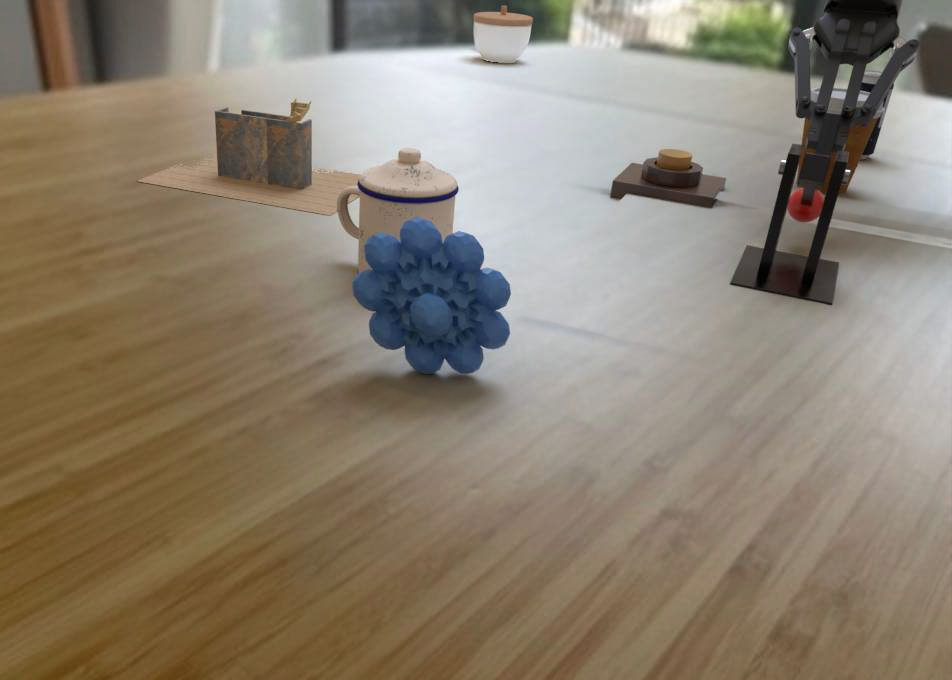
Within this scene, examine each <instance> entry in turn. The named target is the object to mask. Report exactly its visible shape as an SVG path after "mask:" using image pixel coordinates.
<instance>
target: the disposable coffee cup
mask: <svg viewBox="0 0 952 680" xmlns="http://www.w3.org/2000/svg"><path fill="white" fill-rule="evenodd" d="M820 88H821V86H820V87H813V88H811V100H812V101H814V102H817V99H818V95H819V91H820ZM846 92H847V88H844V87H833V91H832V95H831V98H830V102H829V106H828V109H827V113H831V114H839V115H841V111H842V107H843V103H844V99H845V96H846ZM869 94H870V93H869V92H865V91H860V92H859V96H858V100H857V104H856V107H862V106H863V104H864V103H865V101H866V99H867V98H868V96H869ZM884 110H885V109H884V108H883V102H882V104H881V105H880V107H879V109H878V110H877V112H876V114H875V116H874V117H873V119H872V121H871V122H870V124H869V125H868V126H865V127H862V126H860V125H855V126H853V127H851V128H850V130H849V134H848V138H847V142H846V145H845V149H844V150H843V151H847V152H849V157H848V162H847V166H846V169H850V170H851V172H850V176H849V179H848V183H847V185H842V184H841V187H840V190H839V194H844V193H846V192H847V191H848V188H849V185H850V183H851V181H852V179H853V177H854V174H855V172H856V169H857V167H858V165H859V163H860V161H861V159H860V158H861V156H862V154H863V151H864V149H865V147H866V145H867V142H868V140H869V138H870V135H871V133H872V131H873V129H874V126H875V124H876V121H877V119H878V117H880V116H881V113H883V112H884ZM810 125H811V122H810V121H809V120H808V119H807V118H804V123H803V129H802V137H801V138H802V139H801V144H800V145H803V150H802V153H801V157H800V161H799V165H798V169H797V173H796V182H795V184H796V185H797V184H798V179H799V175H800V172H801V168H802V164H803V161H804V157H805V153H811V154H815V151H816V150H814V149H807V148H806V140H807V136H808V132H809V128H810ZM836 155H837V153H834V152H831V155H830V156H831V160H830V164H829V167H828V171H827V175H826V178H825V182H824V185H823V189H822V191H820V192H821V193H822V194H826V191H827V187H828V184H829V180H830V177H831V173H832V170H833V166H834V163H835V159H836Z"/></svg>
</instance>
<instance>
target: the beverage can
mask: <svg viewBox="0 0 952 680" xmlns="http://www.w3.org/2000/svg"><path fill="white" fill-rule="evenodd" d="M882 72H883V71H880V70H873V69H865V73H864V77H863V81H862V84H861V88H860V91H865V92H869V93H871V91H872V89H873V87H874V86H875V84H876V82H877V81H878V79H879V77H880V76H881V74H882ZM894 86H895V82H894V83H893V85H892V87H891V88H890V90H889V92H888V93H887V95H886V97H885V99H884V100H883V108H884V109H885V110H884V112H883V113H881V116H880V117H878V119H877V121H876V124H875V126H874V129H873V131H872V133H871V135H870V138H869V140H868V142H867V145H866V147H865V149H864V151H863V154H862V156H861V158H860V160H867V158H868V157H871V155H873V154H874V153H875V149H876V147H877V143H878V140H879V137H880V133H881V130H882V127H883V123H884V120H885V117H886V114H887V110H888V107H889V104H890V100H891V98H892V94H893V90H894Z"/></svg>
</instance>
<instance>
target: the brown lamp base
mask: <svg viewBox="0 0 952 680" xmlns="http://www.w3.org/2000/svg"><path fill="white" fill-rule="evenodd" d="M657 158H658V156H655V157H649V158H646V159H645V160H644V161H643V163H638V162H637V163H636V162H631V163H630V164H628V165H627V167H625V168H624V169H623V170H622V171H621V172H620V173H619V174H618V175H617V176H616V177H615V178H614V179H612V183H611V188H610V189H611V190H610V195H609V198H612V199H617V200H622V199H623V198H624V197H625V196H627V194H630V195H636V196H641V197H646V198H652V199H653V198H654V199H659V200H663V201H664V200H665V201H671V202H675V203H679V204H680V203H682V204H687V205H692V206H698V207H703V208H709V209H712V208H713V207H714V205H715V203H716V202H717V200H718V199H717V197H716V196H717V195H718V193H719V192H721V193H722V192H723V190H724V189H725V187H726V182H727V177H722V176H716V175H710V174H704V173H703V171H704V167H703V166H702V165H700V164H698V163H697V162H694V161H691V165H690V169H688V170H673V169H667V168H663V167H660V166H657V165H656V164H657Z"/></svg>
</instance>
